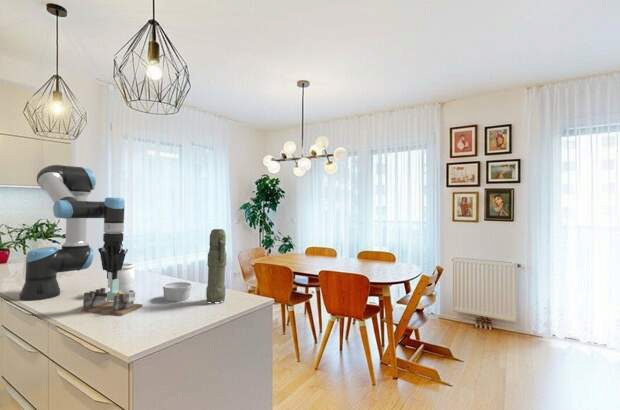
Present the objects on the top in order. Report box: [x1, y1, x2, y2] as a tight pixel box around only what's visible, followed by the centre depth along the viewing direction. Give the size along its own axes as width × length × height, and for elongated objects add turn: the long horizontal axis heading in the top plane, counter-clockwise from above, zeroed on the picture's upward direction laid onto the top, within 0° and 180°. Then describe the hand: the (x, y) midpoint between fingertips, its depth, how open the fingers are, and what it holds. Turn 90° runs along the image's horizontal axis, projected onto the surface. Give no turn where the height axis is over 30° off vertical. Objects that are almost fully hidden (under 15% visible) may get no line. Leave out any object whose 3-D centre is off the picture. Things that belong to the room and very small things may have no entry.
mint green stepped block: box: [106, 279, 122, 302], centre depth 140 cm, size 4×4×9 cm
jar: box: [117, 263, 136, 293], centre depth 163 cm, size 11×10×15 cm
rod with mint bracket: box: [80, 287, 143, 317], centre depth 140 cm, size 20×12×8 cm, turn 80°
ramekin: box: [162, 281, 193, 303], centre depth 159 cm, size 13×13×7 cm
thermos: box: [205, 228, 227, 303], centre depth 156 cm, size 9×12×35 cm
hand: (111, 286), depth 140 cm, fingers closed
